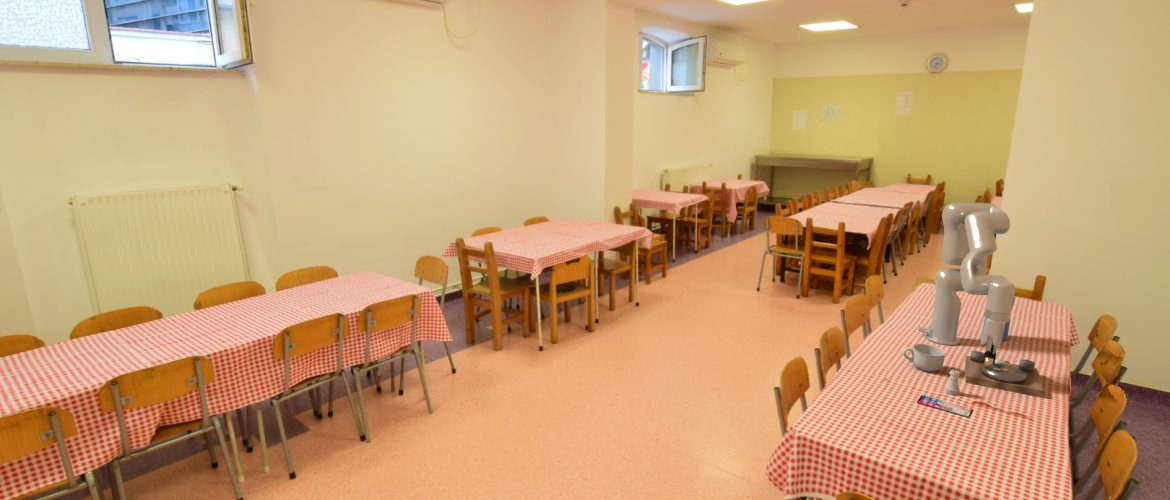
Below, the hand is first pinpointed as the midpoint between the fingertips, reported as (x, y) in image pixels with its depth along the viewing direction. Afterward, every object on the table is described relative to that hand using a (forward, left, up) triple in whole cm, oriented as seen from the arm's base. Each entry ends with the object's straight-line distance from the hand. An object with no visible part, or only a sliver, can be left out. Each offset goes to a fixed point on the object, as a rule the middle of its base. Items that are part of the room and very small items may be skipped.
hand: (988, 362), depth 207 cm
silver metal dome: (+5, -2, -3) cm, 6 cm away
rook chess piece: (-10, -21, -6) cm, 24 cm away
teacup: (-20, -3, -6) cm, 22 cm away
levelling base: (+5, +2, -6) cm, 8 cm away
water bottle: (+5, +51, -6) cm, 51 cm away
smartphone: (-12, -34, -6) cm, 37 cm away
